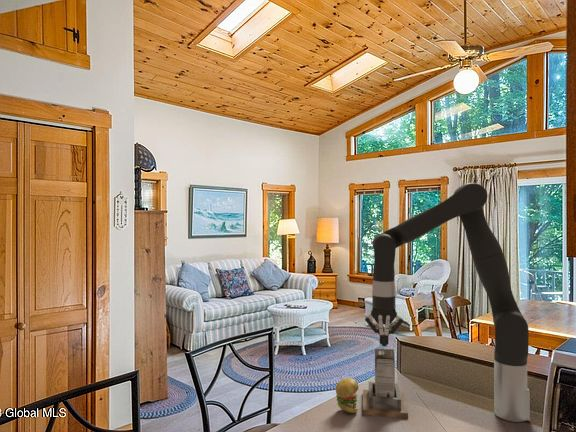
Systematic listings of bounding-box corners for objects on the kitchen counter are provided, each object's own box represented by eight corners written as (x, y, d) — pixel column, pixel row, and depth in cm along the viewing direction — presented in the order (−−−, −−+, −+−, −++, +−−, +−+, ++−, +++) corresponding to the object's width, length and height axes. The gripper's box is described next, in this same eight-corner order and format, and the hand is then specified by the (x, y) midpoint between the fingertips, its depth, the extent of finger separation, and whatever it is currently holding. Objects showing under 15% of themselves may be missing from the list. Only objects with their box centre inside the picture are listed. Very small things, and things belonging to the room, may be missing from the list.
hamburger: (363, 415, 136) (363, 377, 136) (343, 419, 133) (343, 381, 133) (350, 405, 143) (350, 369, 143) (331, 409, 140) (331, 372, 140)
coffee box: (374, 394, 148) (374, 347, 148) (393, 395, 147) (393, 348, 147) (375, 406, 139) (375, 356, 139) (395, 407, 138) (395, 357, 138)
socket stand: (403, 396, 150) (403, 382, 150) (408, 418, 134) (408, 402, 134) (362, 393, 152) (362, 379, 152) (362, 414, 136) (362, 399, 136)
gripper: (403, 292, 145) (403, 343, 145) (363, 291, 148) (363, 341, 148) (405, 296, 138) (405, 350, 138) (363, 295, 140) (363, 348, 140)
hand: (383, 345), depth 143 cm, fingers closed
